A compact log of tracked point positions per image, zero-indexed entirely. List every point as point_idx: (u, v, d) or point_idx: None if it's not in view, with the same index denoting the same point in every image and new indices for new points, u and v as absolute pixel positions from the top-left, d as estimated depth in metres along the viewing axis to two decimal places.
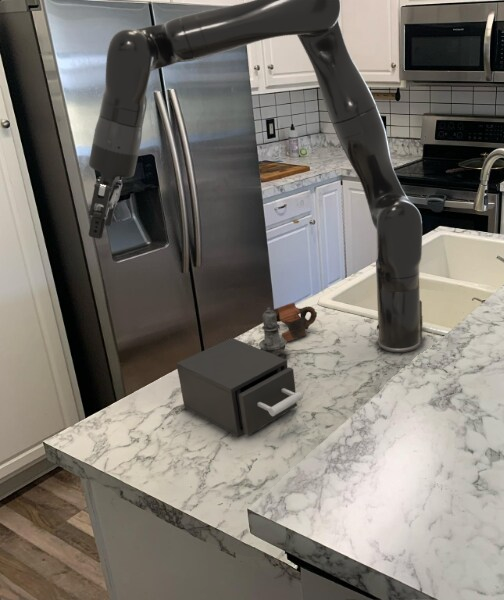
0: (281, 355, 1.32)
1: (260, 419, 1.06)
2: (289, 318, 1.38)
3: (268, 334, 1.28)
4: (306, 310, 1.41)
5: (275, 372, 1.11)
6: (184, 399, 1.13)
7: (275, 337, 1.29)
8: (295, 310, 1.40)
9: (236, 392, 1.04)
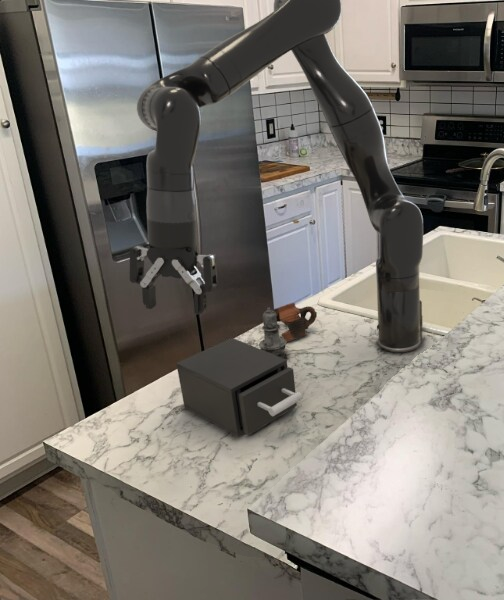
0: (281, 355, 1.32)
1: (260, 419, 1.06)
2: (289, 318, 1.38)
3: (268, 334, 1.28)
4: (306, 310, 1.41)
5: (275, 372, 1.11)
6: (184, 399, 1.13)
7: (275, 337, 1.29)
8: (295, 310, 1.40)
9: (236, 392, 1.04)
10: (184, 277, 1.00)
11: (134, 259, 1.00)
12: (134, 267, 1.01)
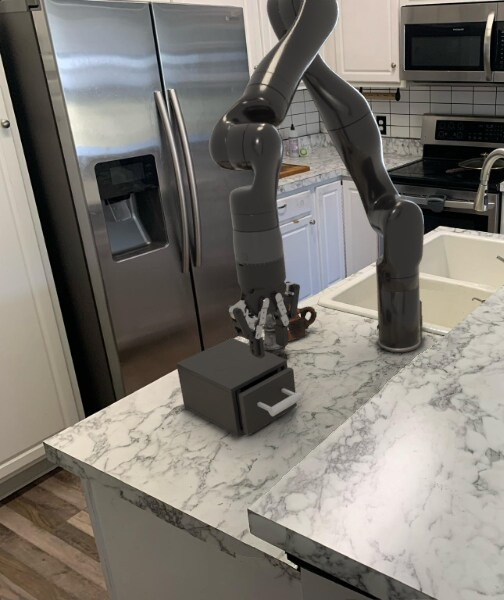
0: (281, 355, 1.32)
1: (260, 419, 1.06)
2: None
3: (268, 334, 1.28)
4: (306, 310, 1.41)
5: (275, 372, 1.11)
6: (184, 399, 1.13)
7: None
8: None
9: (236, 392, 1.04)
10: (281, 310, 1.00)
11: (242, 318, 0.94)
12: (245, 324, 0.95)
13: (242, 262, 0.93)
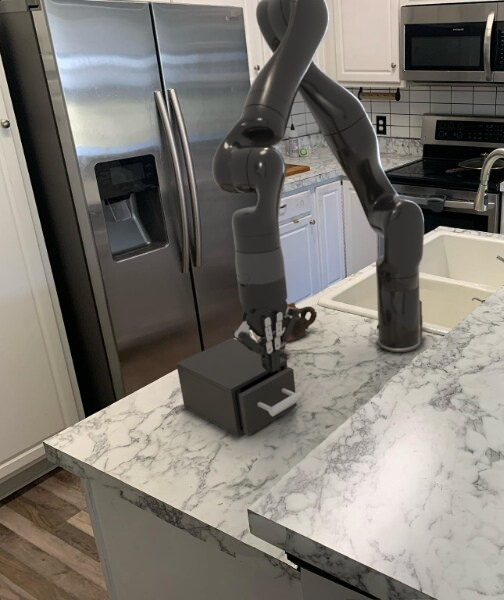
0: (281, 355, 1.32)
1: (260, 419, 1.06)
2: None
3: None
4: (306, 310, 1.41)
5: (275, 372, 1.11)
6: (184, 399, 1.13)
7: None
8: None
9: (236, 392, 1.04)
10: (277, 331, 1.00)
11: (249, 339, 0.96)
12: (254, 343, 0.97)
13: (244, 282, 0.94)
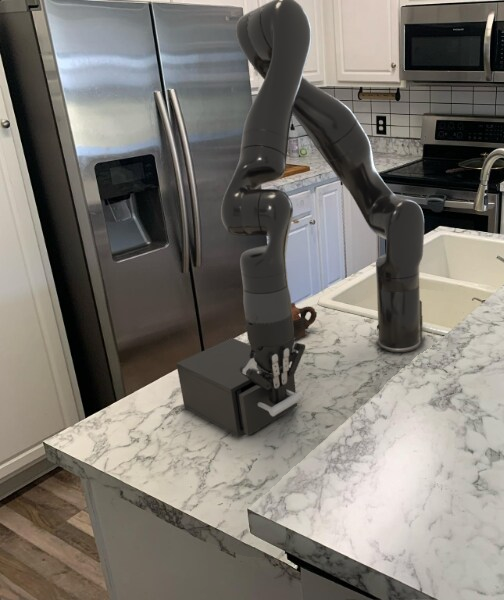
0: None
1: (260, 419, 1.06)
2: None
3: None
4: (306, 310, 1.41)
5: None
6: (184, 399, 1.13)
7: None
8: (295, 310, 1.40)
9: (236, 392, 1.04)
10: (284, 366, 1.02)
11: (257, 376, 0.98)
12: (262, 379, 0.99)
13: (252, 321, 0.96)
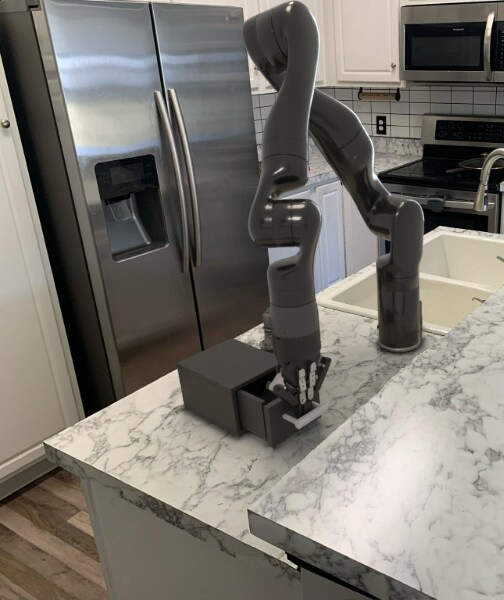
0: None
1: (285, 431, 1.02)
2: None
3: (268, 334, 1.28)
4: None
5: None
6: (184, 399, 1.13)
7: None
8: None
9: (261, 404, 1.00)
10: (311, 381, 0.99)
11: (284, 391, 0.95)
12: (288, 395, 0.96)
13: (279, 335, 0.93)
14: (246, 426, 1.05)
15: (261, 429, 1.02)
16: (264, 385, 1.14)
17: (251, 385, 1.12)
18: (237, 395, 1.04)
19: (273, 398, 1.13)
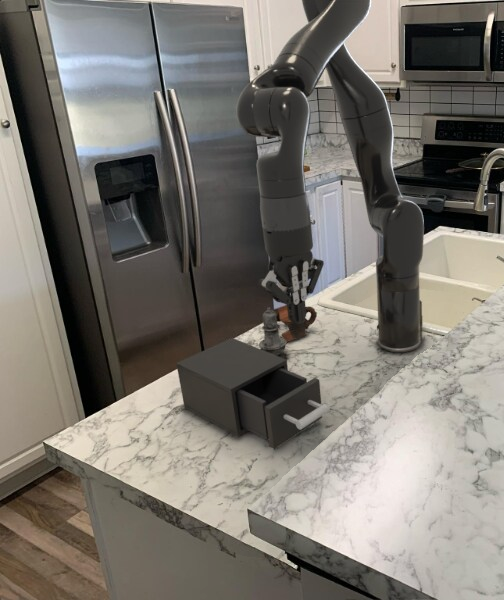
0: (281, 355, 1.32)
1: (286, 432, 1.02)
2: None
3: (268, 334, 1.28)
4: (306, 310, 1.41)
5: (300, 383, 1.07)
6: (184, 399, 1.13)
7: (275, 337, 1.29)
8: None
9: (262, 404, 1.00)
10: (303, 281, 0.99)
11: (277, 288, 0.95)
12: (281, 293, 0.96)
13: (270, 229, 0.92)
14: (247, 427, 1.05)
15: (262, 430, 1.02)
16: (265, 385, 1.14)
17: (252, 385, 1.12)
18: (238, 395, 1.03)
19: (274, 398, 1.13)
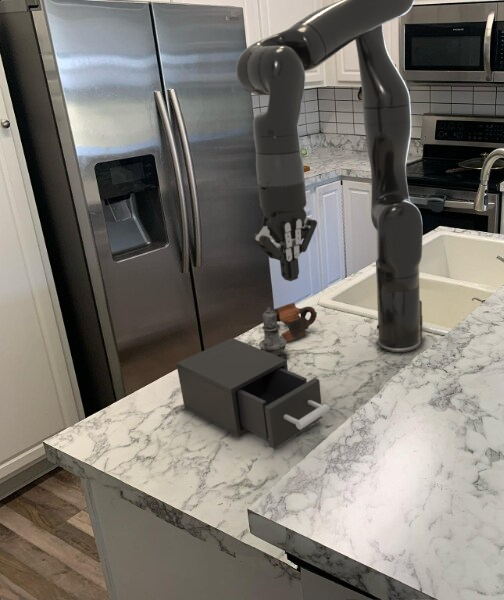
0: (281, 355, 1.32)
1: (286, 432, 1.02)
2: (289, 318, 1.38)
3: (268, 334, 1.28)
4: (306, 310, 1.41)
5: (300, 383, 1.07)
6: (184, 399, 1.13)
7: (275, 337, 1.29)
8: (295, 310, 1.40)
9: (262, 404, 1.00)
10: (296, 238, 1.02)
11: (270, 243, 0.98)
12: (275, 248, 0.99)
13: (265, 185, 0.96)
14: (247, 427, 1.05)
15: (262, 430, 1.02)
16: (265, 385, 1.14)
17: (252, 385, 1.12)
18: (238, 395, 1.03)
19: (274, 398, 1.13)
